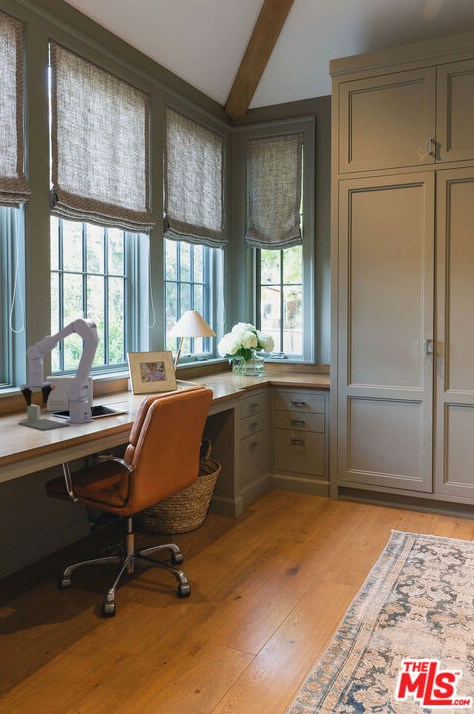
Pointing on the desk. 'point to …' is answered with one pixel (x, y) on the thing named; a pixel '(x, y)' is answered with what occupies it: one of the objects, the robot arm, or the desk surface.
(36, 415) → the tile
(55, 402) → the skincare box
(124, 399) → the desk surface
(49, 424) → the mat
